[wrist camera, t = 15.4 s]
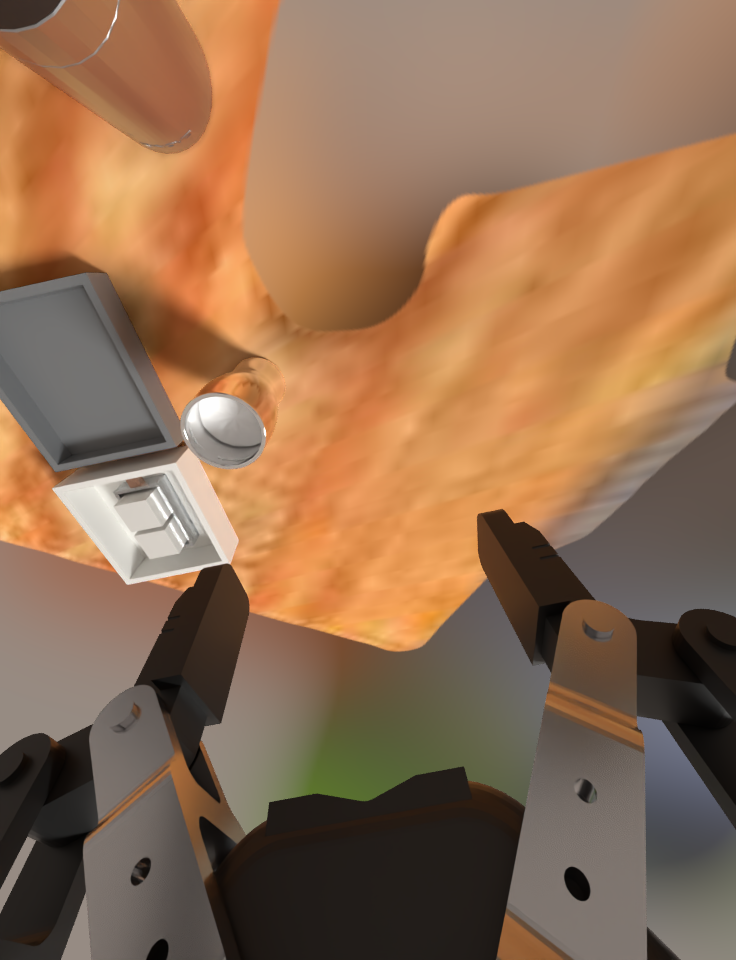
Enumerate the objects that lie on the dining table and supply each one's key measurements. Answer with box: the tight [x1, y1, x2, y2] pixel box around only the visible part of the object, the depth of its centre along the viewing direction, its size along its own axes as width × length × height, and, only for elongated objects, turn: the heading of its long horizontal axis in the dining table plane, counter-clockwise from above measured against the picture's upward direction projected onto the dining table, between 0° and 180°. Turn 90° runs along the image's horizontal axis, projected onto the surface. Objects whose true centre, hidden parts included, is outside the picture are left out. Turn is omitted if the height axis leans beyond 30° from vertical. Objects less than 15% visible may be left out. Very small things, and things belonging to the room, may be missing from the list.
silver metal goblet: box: [180, 357, 286, 469], centre depth 34 cm, size 7×7×15 cm
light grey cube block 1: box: [113, 487, 171, 532], centre depth 43 cm, size 4×4×4 cm
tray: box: [0, 273, 184, 472], centre depth 37 cm, size 18×15×3 cm
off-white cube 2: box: [134, 513, 187, 559], centre depth 46 cm, size 4×4×4 cm
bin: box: [52, 446, 239, 585], centre depth 45 cm, size 16×15×5 cm
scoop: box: [113, 474, 200, 548], centre depth 45 cm, size 12×6×2 cm, turn 10°
